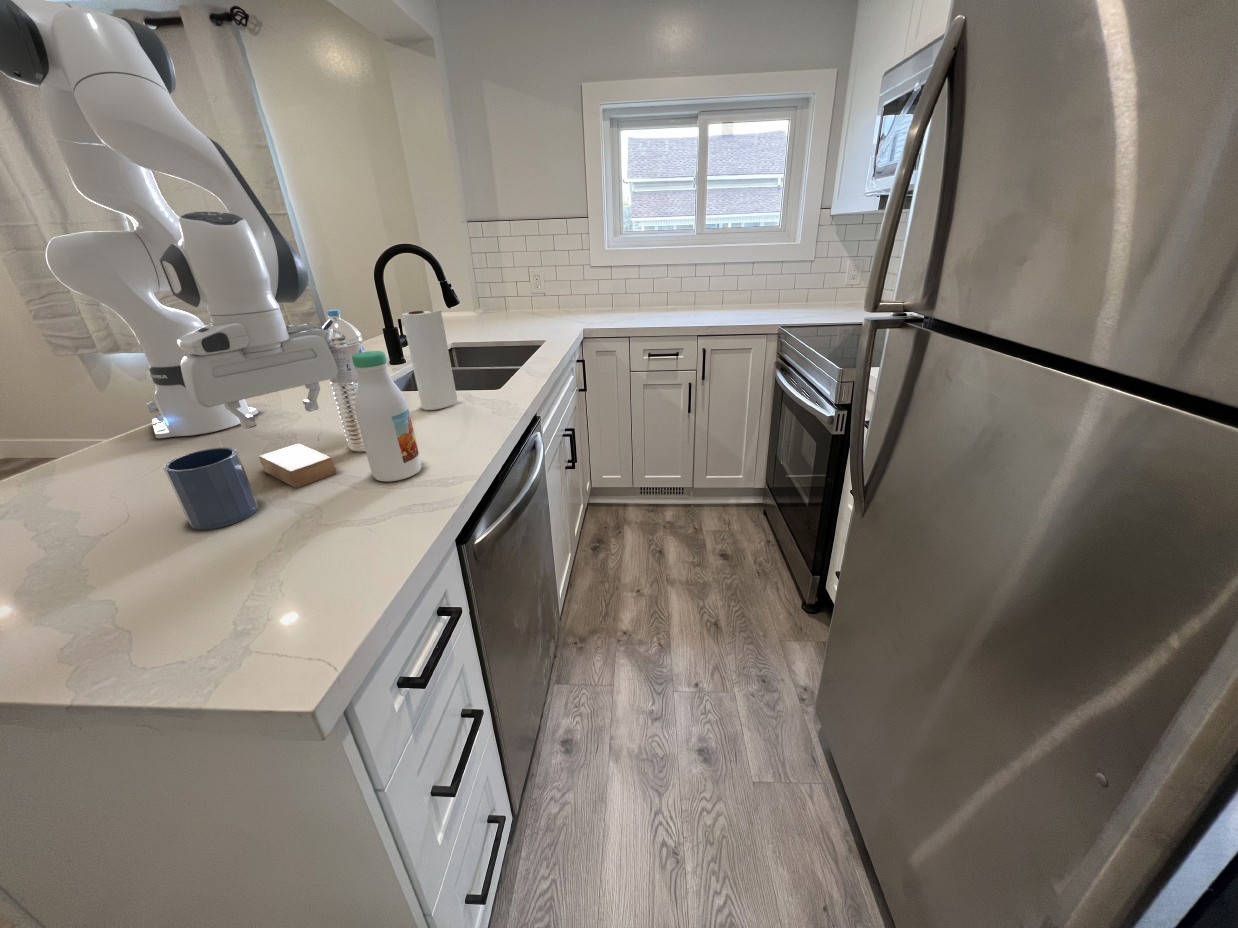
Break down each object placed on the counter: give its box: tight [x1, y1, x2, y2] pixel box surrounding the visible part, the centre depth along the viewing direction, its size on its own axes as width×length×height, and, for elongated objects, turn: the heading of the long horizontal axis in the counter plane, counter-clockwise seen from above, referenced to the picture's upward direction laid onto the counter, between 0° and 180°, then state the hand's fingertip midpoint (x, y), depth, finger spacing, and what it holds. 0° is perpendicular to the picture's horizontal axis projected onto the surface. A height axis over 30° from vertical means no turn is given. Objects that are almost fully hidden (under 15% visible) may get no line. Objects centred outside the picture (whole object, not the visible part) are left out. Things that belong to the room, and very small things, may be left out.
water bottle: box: [321, 309, 366, 453], centre depth 90 cm, size 7×7×25 cm
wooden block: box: [258, 442, 337, 489], centre depth 84 cm, size 12×6×3 cm, turn 54°
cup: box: [163, 446, 259, 531], centre depth 70 cm, size 8×8×9 cm
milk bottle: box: [352, 350, 422, 482], centre depth 79 cm, size 8×8×20 cm
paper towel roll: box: [401, 310, 459, 411], centre depth 111 cm, size 7×6×21 cm
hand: (282, 418), depth 81 cm, fingers open, 8 cm apart
